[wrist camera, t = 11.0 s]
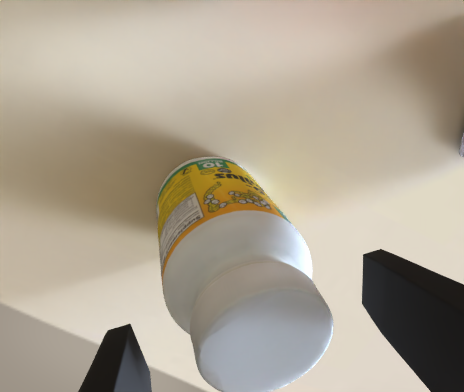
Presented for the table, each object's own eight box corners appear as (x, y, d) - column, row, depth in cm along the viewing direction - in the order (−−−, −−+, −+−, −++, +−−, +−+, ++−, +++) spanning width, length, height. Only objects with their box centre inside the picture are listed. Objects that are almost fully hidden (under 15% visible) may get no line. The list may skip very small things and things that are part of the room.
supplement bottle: (135, 215, 17) (124, 385, 8) (197, 131, 16) (258, 227, 7) (216, 259, 19) (272, 429, 11) (275, 188, 18) (390, 313, 10)
